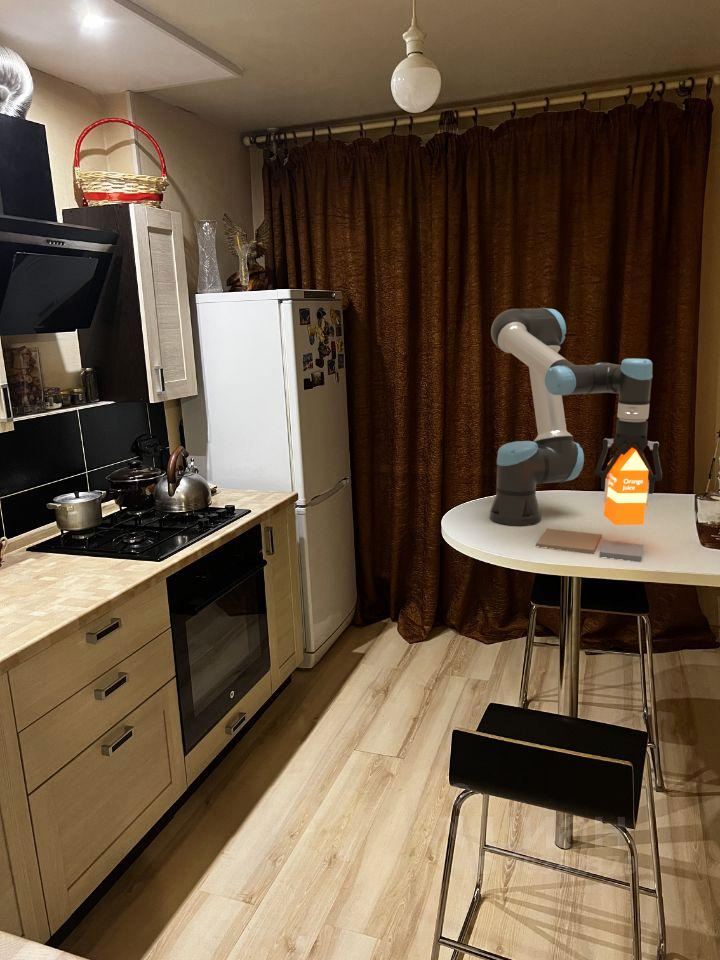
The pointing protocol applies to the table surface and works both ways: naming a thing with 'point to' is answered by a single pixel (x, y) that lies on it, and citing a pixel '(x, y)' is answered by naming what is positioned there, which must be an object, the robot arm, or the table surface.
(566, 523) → the table surface
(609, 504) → the orange juice
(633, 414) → the robot arm
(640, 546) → the tile
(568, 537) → the cork mat
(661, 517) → the table surface
